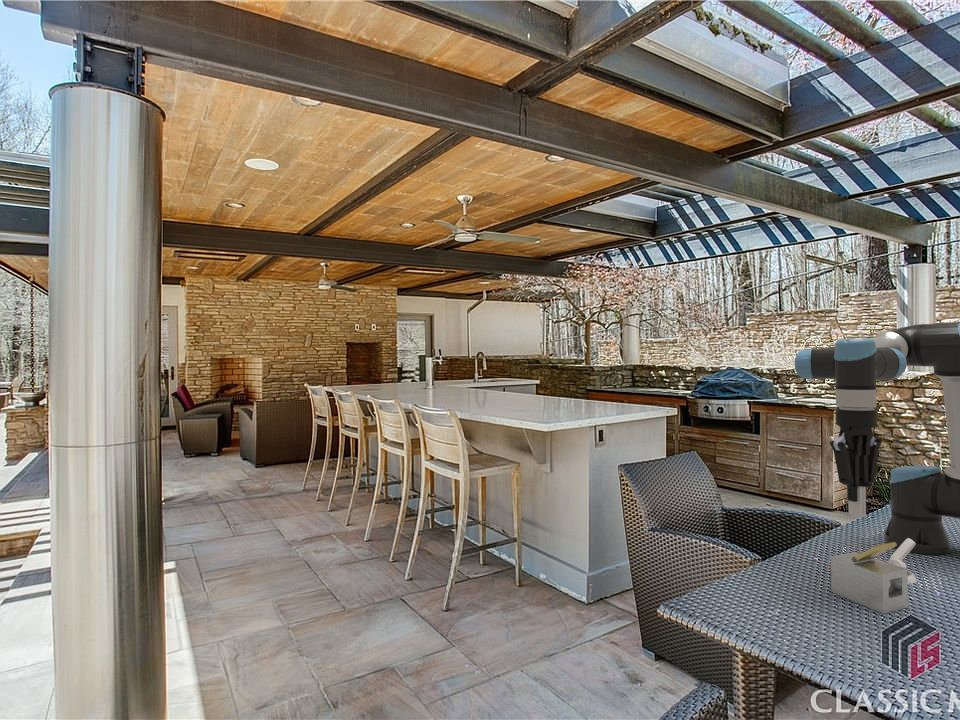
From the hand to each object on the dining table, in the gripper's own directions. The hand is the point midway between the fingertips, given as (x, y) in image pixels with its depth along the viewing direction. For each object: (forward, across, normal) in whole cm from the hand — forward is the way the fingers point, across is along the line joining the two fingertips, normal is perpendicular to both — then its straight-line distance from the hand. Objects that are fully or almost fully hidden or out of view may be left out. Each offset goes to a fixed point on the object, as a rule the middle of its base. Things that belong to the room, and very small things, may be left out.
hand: (857, 515), depth 124 cm
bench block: (+21, -7, -3) cm, 22 cm away
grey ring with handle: (+21, -26, -9) cm, 35 cm away
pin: (+18, -7, -4) cm, 20 cm away
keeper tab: (+10, -7, -1) cm, 12 cm away
